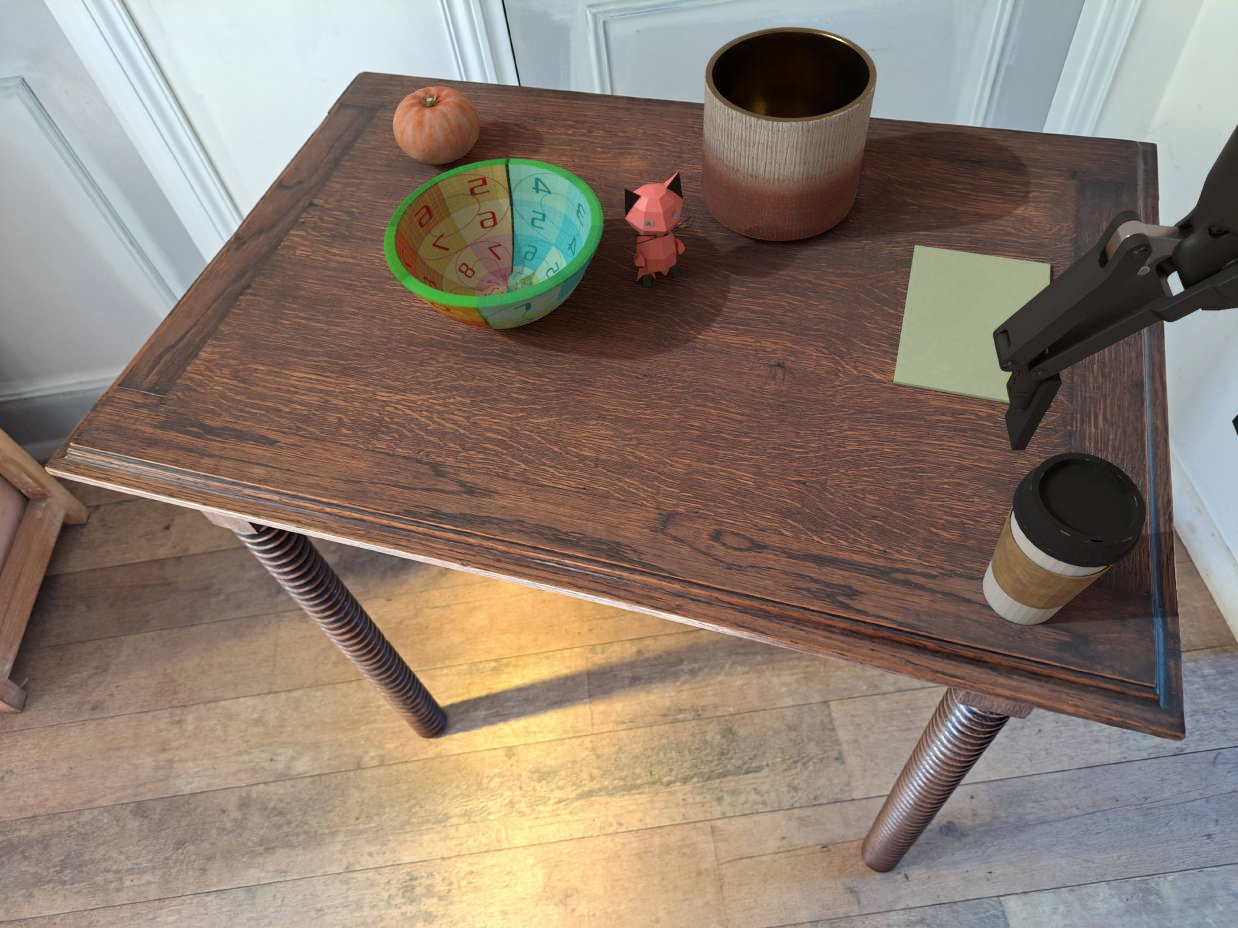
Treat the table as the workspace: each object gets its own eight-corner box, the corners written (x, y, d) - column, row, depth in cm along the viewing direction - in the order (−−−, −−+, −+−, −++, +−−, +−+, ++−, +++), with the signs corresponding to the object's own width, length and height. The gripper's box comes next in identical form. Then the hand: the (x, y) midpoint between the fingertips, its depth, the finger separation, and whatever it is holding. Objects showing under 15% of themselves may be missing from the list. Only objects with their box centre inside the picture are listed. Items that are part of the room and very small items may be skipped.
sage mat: (1044, 409, 81) (1046, 407, 80) (893, 383, 84) (893, 380, 83) (1049, 266, 91) (1050, 263, 91) (914, 247, 94) (915, 245, 94)
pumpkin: (478, 178, 107) (465, 121, 100) (394, 180, 108) (375, 123, 101) (491, 126, 113) (479, 69, 106) (411, 128, 114) (394, 71, 107)
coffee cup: (969, 632, 69) (1030, 541, 56) (963, 541, 73) (1018, 439, 61) (1080, 646, 68) (1167, 556, 55) (1067, 552, 72) (1145, 450, 60)
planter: (688, 239, 98) (688, 115, 85) (715, 145, 107) (719, 20, 94) (847, 256, 94) (872, 130, 81) (860, 157, 104) (884, 30, 91)
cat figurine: (638, 299, 93) (632, 210, 83) (615, 260, 96) (606, 170, 87) (697, 279, 94) (698, 189, 84) (672, 242, 98) (670, 150, 88)
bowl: (583, 388, 86) (572, 317, 78) (379, 360, 90) (348, 291, 82) (630, 240, 98) (625, 165, 90) (448, 221, 102) (427, 149, 94)
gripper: (1626, 79, 36) (1321, 393, 54) (1016, 87, 39) (914, 384, 56) (1740, 193, 32) (1370, 493, 50) (1049, 194, 35) (928, 479, 52)
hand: (1127, 436), depth 53 cm, fingers open, 13 cm apart
